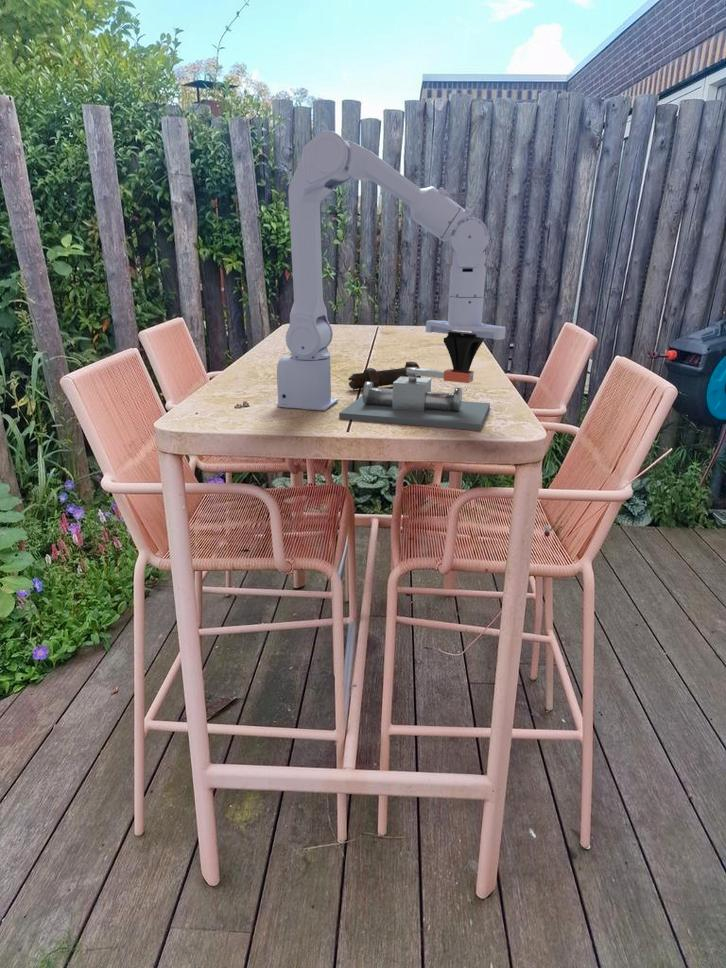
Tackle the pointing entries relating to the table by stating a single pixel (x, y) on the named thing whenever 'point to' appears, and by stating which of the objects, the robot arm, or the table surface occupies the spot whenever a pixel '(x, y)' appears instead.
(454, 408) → the valve manifold
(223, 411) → the table surface
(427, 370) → the valve lever
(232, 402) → the table surface
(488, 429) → the table surface
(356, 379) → the bolt
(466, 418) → the mounting plate
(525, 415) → the table surface
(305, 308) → the robot arm
